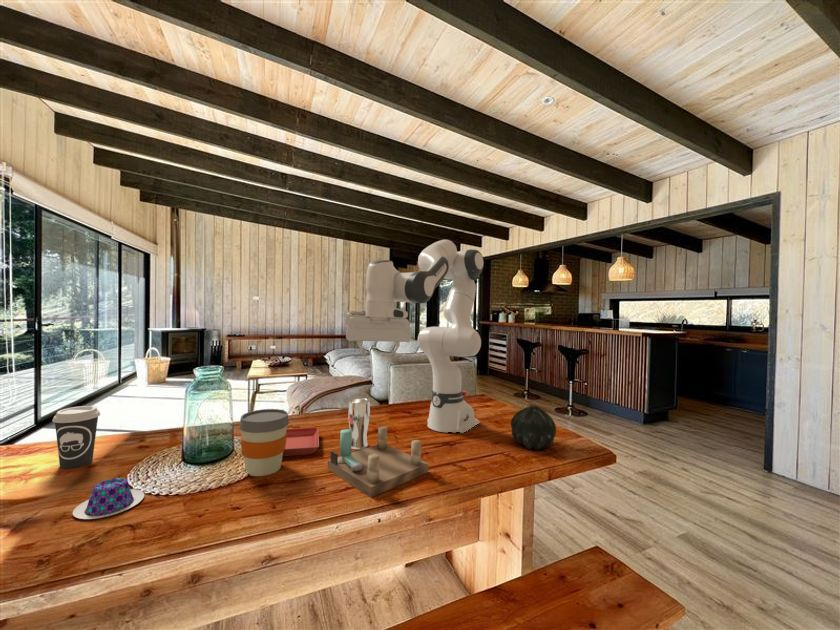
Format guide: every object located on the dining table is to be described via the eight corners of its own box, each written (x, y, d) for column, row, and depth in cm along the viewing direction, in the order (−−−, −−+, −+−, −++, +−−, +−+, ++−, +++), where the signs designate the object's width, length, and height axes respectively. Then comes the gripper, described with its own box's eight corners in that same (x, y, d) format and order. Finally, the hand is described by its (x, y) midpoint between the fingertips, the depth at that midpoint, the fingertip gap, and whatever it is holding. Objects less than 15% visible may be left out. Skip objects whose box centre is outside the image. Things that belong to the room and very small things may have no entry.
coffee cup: (107, 459, 101) (108, 407, 100) (65, 474, 92) (65, 416, 91) (86, 454, 104) (87, 403, 104) (43, 467, 95) (43, 412, 95)
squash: (534, 419, 133) (518, 392, 127) (570, 433, 121) (554, 404, 115) (513, 449, 128) (495, 423, 122) (548, 466, 116) (530, 438, 110)
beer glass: (364, 451, 112) (365, 404, 112) (344, 449, 113) (345, 402, 113) (371, 443, 119) (373, 399, 119) (352, 441, 120) (353, 397, 120)
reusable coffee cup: (256, 484, 90) (257, 425, 89) (228, 470, 96) (229, 416, 96) (297, 466, 100) (298, 413, 100) (269, 455, 107) (270, 406, 107)
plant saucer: (317, 435, 125) (318, 426, 125) (319, 456, 108) (319, 445, 108) (262, 439, 120) (262, 430, 120) (254, 462, 103) (254, 451, 103)
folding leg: (364, 469, 93) (365, 441, 93) (353, 472, 91) (354, 443, 91) (348, 454, 102) (349, 428, 102) (337, 456, 101) (338, 430, 100)
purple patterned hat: (103, 526, 72) (104, 500, 72) (56, 518, 74) (57, 493, 74) (157, 495, 83) (158, 473, 83) (115, 489, 86) (116, 468, 86)
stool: (383, 450, 113) (383, 424, 113) (428, 472, 99) (429, 442, 99) (327, 469, 99) (328, 439, 99) (370, 497, 85) (371, 462, 85)
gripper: (344, 310, 106) (343, 356, 107) (412, 312, 108) (411, 357, 108) (347, 310, 113) (346, 353, 113) (411, 312, 114) (410, 354, 114)
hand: (378, 355), depth 111 cm, fingers open, 8 cm apart
